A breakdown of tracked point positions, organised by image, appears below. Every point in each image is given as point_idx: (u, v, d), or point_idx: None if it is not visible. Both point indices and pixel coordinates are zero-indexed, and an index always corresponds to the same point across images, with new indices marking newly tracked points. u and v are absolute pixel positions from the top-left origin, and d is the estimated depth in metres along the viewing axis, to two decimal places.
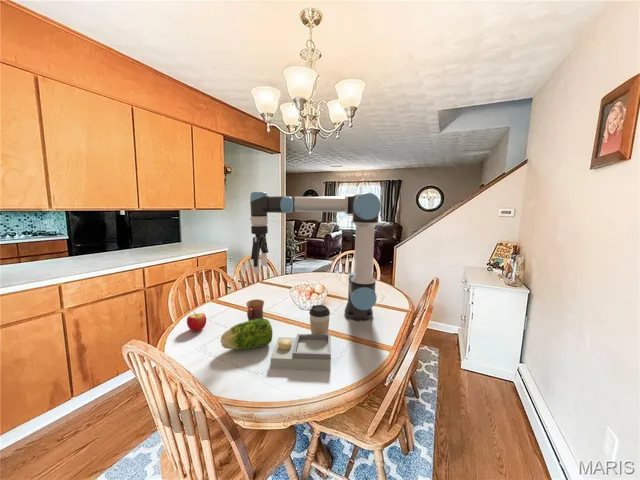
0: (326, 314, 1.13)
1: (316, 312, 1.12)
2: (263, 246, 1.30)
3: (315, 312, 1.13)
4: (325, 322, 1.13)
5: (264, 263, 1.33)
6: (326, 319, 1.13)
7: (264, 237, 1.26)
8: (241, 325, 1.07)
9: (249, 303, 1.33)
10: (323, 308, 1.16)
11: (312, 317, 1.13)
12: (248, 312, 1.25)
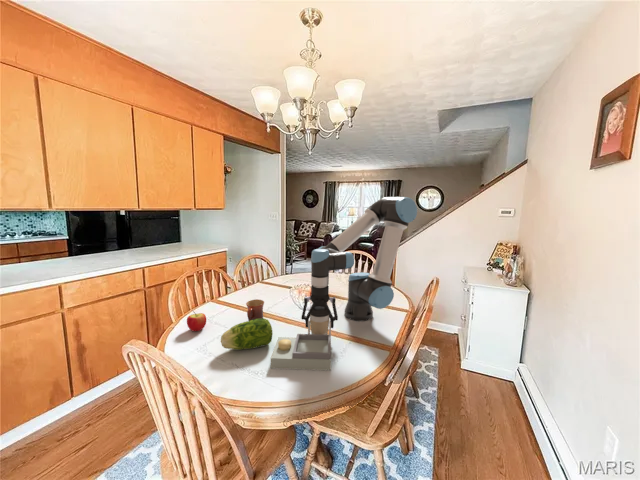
0: (326, 314, 1.13)
1: (316, 312, 1.12)
2: None
3: (315, 312, 1.13)
4: (325, 322, 1.13)
5: (329, 332, 1.17)
6: (326, 319, 1.13)
7: (322, 299, 1.13)
8: (241, 325, 1.07)
9: (249, 303, 1.33)
10: (323, 308, 1.16)
11: (312, 317, 1.13)
12: (248, 312, 1.25)
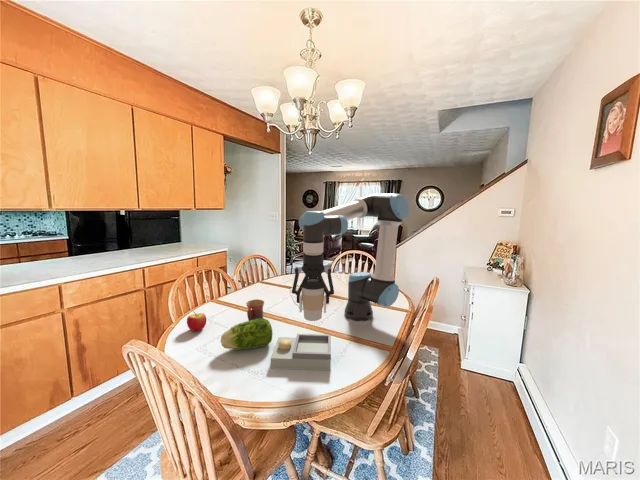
0: (320, 287, 0.97)
1: (309, 284, 0.96)
2: None
3: (307, 284, 0.96)
4: (319, 296, 0.97)
5: (324, 308, 1.01)
6: (320, 293, 0.97)
7: (316, 270, 0.97)
8: (241, 325, 1.07)
9: (249, 303, 1.33)
10: (317, 280, 1.00)
11: (304, 290, 0.97)
12: (248, 312, 1.25)
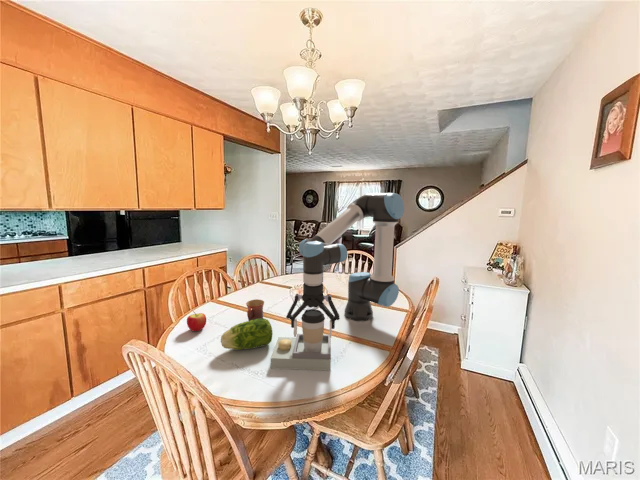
0: (320, 320, 0.98)
1: (309, 318, 0.98)
2: None
3: (308, 318, 0.98)
4: (319, 329, 0.99)
5: None
6: (320, 326, 0.99)
7: (316, 299, 0.98)
8: (241, 325, 1.07)
9: (249, 303, 1.33)
10: (317, 313, 1.01)
11: (304, 323, 0.99)
12: (248, 312, 1.25)
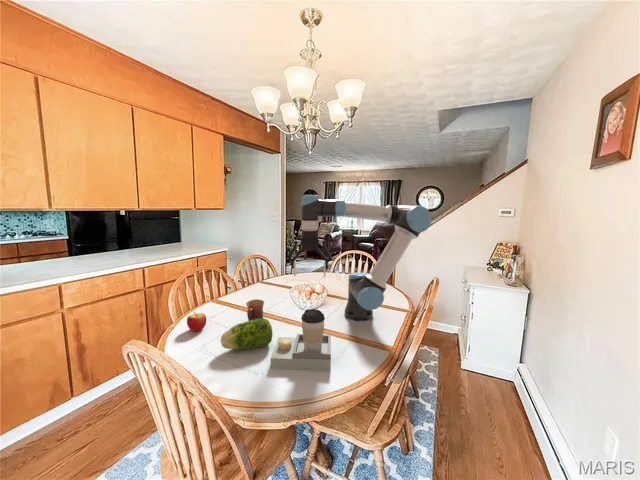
0: (320, 320, 0.98)
1: (309, 318, 0.98)
2: (319, 253, 1.19)
3: (308, 318, 0.98)
4: (319, 329, 0.99)
5: None
6: (320, 326, 0.99)
7: (312, 243, 1.17)
8: (241, 325, 1.07)
9: (249, 303, 1.33)
10: (317, 313, 1.01)
11: (304, 323, 0.99)
12: (248, 312, 1.25)
